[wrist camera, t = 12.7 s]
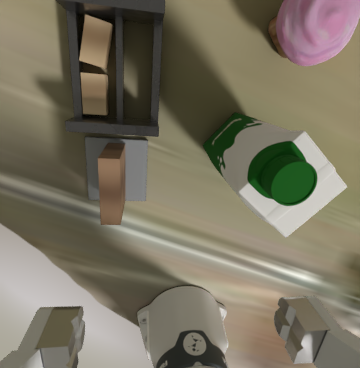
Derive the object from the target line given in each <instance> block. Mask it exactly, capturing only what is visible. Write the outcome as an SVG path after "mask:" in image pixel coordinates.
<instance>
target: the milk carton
mask: <svg viewBox="0 0 360 368" xmlns="http://www.w3.org/2000/svg"><path fill="white" fill-rule="evenodd" d="M203 147H204V149H205V151H206V153H207V154H208V156H209V158H210V160H211V162H212V163H213V165H214V166H215V167H216V169H217V170H218V171H219V173H220V174H221V175H222V177H223V178H224V179H225V180H226V182H227V183H228V184H229V185H230V187H231V188H232V189H233V190H234V191H235V192H236V194H237V195H238V196H239V197H240V198H241V199H242V201H243V202H244V204H245V205H246V206H247V207H248V208H249V209H250V210H251V211H252V212H253V213H255V214H256V215H257V216H258V217H259V218H261V219H262V220H264V221H266V222H267V223H269V224H271V225H272V226H273V227H274V228H275V229H276V230H277V231H279V232H280V233H281V234H282V235H283V236H284V237H287V236H289V235H290V234H291V233H292V232H294V231H295V230H296V229H297V228H298V227H300V226H301V225H302V224H303V223H304V222H306V221H307V220H308V219H309V218H310V217H312V216H313V215H314V214H315V213H316V212H318V211H319V210H320V209H321V208H323V207H324V206H325V205H326V204H327V203H329V202H330V201H331V200H332V199H333V198H335V197H336V196H337V195H338V194H339V193H341V192H342V191H343V190H344V189H345V188H347V186H346V184H345V183H344V182H343V180H342V179H341V178H340V177H339V175H338V174H337V173H336V171H335V170H336V169H335V168H334V166H333V165H332V164H331V162H330V161H329V160H328V159H327V158H326V157H325V156H324V154H323V153H322V152H321V150H320V149H319V148H318V147H317V145H316V144H315V143H314V142H313V140H312V139H311V138H310V137H309V135H308V134H307V133H306V132H305V131H290V130H287V129H284V128H281V127H278V126H275V125H272V124H269V123H266V122H263V121H260V120H257V119H254V118H251V117H248V116H245V115H242V114H239V113H236V112H235V113H234V114H233V115H232V116H231V117H230V118H229V119H228V120H227V121H226V122H225V123H224V124H223V125H222V126H221V127H220V128H219V129H218V130H217V131H216V132H215V133H214V134H213V135H212V136H211V137H210V138H209V139H208V140H207V141H206V142H205V143H204V144H203Z"/></svg>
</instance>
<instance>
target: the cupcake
mask: <svg viewBox="0 0 360 368" xmlns="http://www.w3.org/2000/svg"><path fill="white" fill-rule="evenodd" d="M359 18H360V0H284V1H283V3H282V5H281V7H280V10H279V13H278V16H276V17H275V18H273V19H272V20H271V21H270V24H269V28H268V32H269V34H270V36H271V38H272V40H273V43H274V44H275V46H276V47H277V50H278V53H279V55H280V56H281V57H283V58H288V59H289V60H290V61H292V62H293V63H296V64H298V65H301V66H312V65H316V64H319V63H322V62H324V61H327V60H328V59H330V58H332V57H334V56H335V55H337V54H338V53H339V52H340V51H341V50H342V49H343V48H344V47H345V45H346V44H347V43H348V42H349V40H350V38H351V36H352V34H353V32H354V30H355V28H356V26H357V23H358V21H359Z"/></svg>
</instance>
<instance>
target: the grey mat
mask: <svg viewBox="0 0 360 368" xmlns="http://www.w3.org/2000/svg"><path fill="white" fill-rule="evenodd" d="M108 143H123V144H125V174H126V199H125V201H146V177H147V147H148V140H139V139H122V138H104V137H85V150H86V166H87V181H88V197H89V200H100V196H99V174H98V157H99V156H100V154H101V153H102V151H103V150H104V148H105V147H106V145H107V144H108Z"/></svg>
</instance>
